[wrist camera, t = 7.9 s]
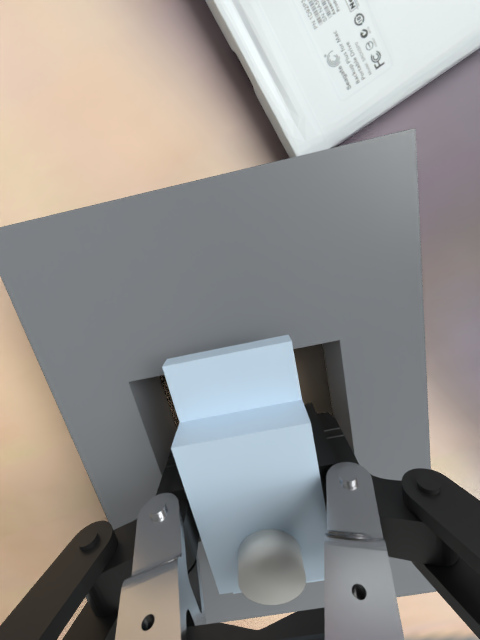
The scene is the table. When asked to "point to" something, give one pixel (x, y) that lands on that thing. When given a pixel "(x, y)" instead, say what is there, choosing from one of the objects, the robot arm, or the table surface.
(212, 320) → the frame
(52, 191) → the table surface
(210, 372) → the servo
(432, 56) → the external hard drive
